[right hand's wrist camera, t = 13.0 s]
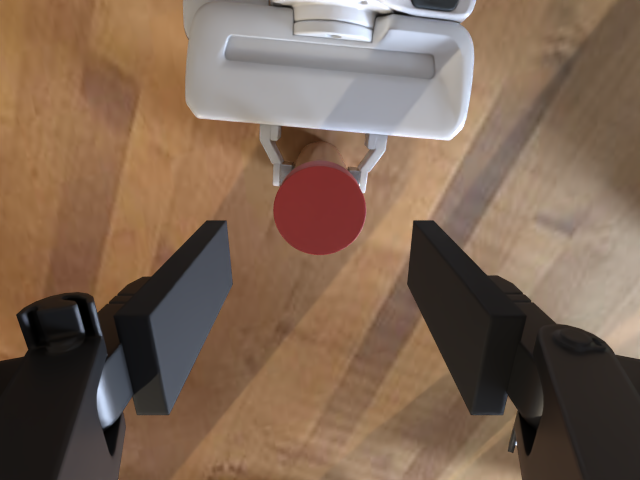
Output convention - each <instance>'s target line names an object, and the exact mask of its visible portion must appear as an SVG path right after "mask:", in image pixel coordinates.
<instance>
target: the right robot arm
mask: <svg viewBox="0 0 640 480" xmlns="http://www.w3.org/2000/svg"><path fill="white" fill-rule="evenodd" d="M232 285H233V282H232V272H231V261H230V251H229V241H228V231H227V221H206V222H205V223H204V224H203V225H202V226H201V227H200V228H199V229H198V230H197V231H196V232H195V233H194V234H193V235H192V236H191V237H190V238H189V239H188V240H187V241H186V242H185V243H184V244H183V245H182V246H181V247H180V248H179V249H178V250H177V251H176V252H175V253H174V254H173V255H172V256H171V257H170V258H169V259H168V260H167V261H166V262H165V263H164V264H163V266H162V267H161V268H160V269H159V270H158V271H157V272H156V273H155V274H154V275H153V276H152V277H141V278H140V279H138V280H136V281H134V282H132V283H130V284H128V285H127V286H126V287H125V288H124V289H122V290H121V291H120V292H119V293H118V295H117V296H115V297H114V298H113V299H112V300H111V301H110V302H109V304H106V305H105V306H104V307H103V308H102V309H101V310H100V311H99V312H98V313H97V310H96V306H95V302H94V298H93V297H92V296H91V295H89V294H87V293H80V292H74V293H64V294H59V295H54V296H50V297H47V298H44V299H42V300H39V301H36V302H34V303H32V304H30V305H28V306H27V307H25V308H23V309H22V310H21V311H20V312H19V313H18V314H16V316H17V319H18V322H19V324H20V327H21V330H22V333H23V336H24V339H25V341H26V344H27V347H28V351H27V353H26V354H25V356H24V357H20V358H14V359H9V360H4V361H0V480H118V476H119V469H120V462H121V456H122V449H123V443H124V436H125V429H126V425H125V418H124V415H123V410H124V408H125V407H126V405H127V404H128V402H129V401H130V399H131V398H132V397H133V401H134V405H135V409H136V413H137V415H169V414H170V412H171V410H172V408H173V406H174V404H175V402H176V400H177V398H178V396H179V394H180V391H181V389H182V387H183V385H184V383H185V381H186V379H187V377H188V375H189V373H190V371H191V369H192V367H193V365H194V363H195V361H196V359H197V357H198V354H199V352H200V350H201V348H202V346H203V344H204V342H205V340H206V338H207V336H208V334H209V332H210V330H211V328H212V326H213V324H214V322H215V320H216V318H217V315H218V313H219V311H220V309H221V307H222V305H223V303H224V301H225V299H226V297H227V295H228V293H229V291H230V289H231V287H232ZM407 285H408V287H409V289H410V291H411V293H412V295H413V297H414V299H415V301H416V303H417V305H418V307H419V309H420V311H421V313H422V315H423V318H424V320H425V322H426V324H427V326H428V328H429V330H430V332H431V334H432V336H433V338H434V340H435V342H436V344H437V346H438V348H439V350H440V352H441V354H442V357H443V359H444V361H445V363H446V365H447V367H448V369H449V371H450V373H451V375H452V377H453V379H454V381H455V383H456V385H457V387H458V389H459V391H460V394H461V396H462V398H463V400H464V402H465V404H466V406H467V408H468V410H469V412H470V414H471V415H503V413H504V409H505V405H506V401H507V397H508V396H509V397H510V399H511V400H512V402H513V403H514V405H515V406H516V408H517V410H518V411H517V415H516V418H515V422H514V426H513V430H512V434H511V438H510V442H509V447H508V452H512V453H513V452H514V448H515V445H516V444H517V448H518V455H519V461H520V468H521V475H522V480H640V359H635V358H630V357H624V356H619V355H615V354H614V352H613V350H612V349H611V348H610V347H609V346H608V345H607V344H606V342H605V341H603V340H602V339H600V338H598V337H597V336H595V335H594V334H591V333H589V332H587V331H584V330H582V329H580V328H576V327H572V326H568V325H560V324H556V323H555V322H554V321H553V320H552V319H551V318H549V317H548V316H547V315H546V314H545V313H544V312H543V311H542V310H541V309H540V308H539V307H538V306H536V305H535V304H534V303H531V300H530V299H529V298H528V297H527V296H526V295H523V293H522V292H521V291H520V290H519V289H518V288H517V287H516V286H515V285H514V284H513V283H511V282H509V281H507V280H505V279H503V278H501V277H499V276H487V275H486V274H485V273H484V272H483V271H482V270H481V269H480V268H479V267H478V266H477V264H476V263H475V262H474V261H473V260H472V259H471V258H470V257H469V256H468V255H467V254H466V253H465V252H464V251H463V250H462V249H461V248H460V247H459V246H458V245H457V244H456V243H455V242H454V241H453V240H452V239H451V238H450V237H449V236H448V235H447V234H446V233H445V232H444V231H443V230H442V229H441V228H440V227H439V226H438V225H437V224H436V223H435V222H434V221H413V231H412V241H411V251H410V261H409V272H408V282H407Z"/></svg>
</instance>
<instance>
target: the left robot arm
mask: <svg viewBox="0 0 640 480" xmlns="http://www.w3.org/2000/svg"><path fill="white" fill-rule="evenodd" d="M475 3H476V0H183V17H184V29H185V33H186V36H187V38H188V40H189V42H188V51H187V61H186V78H185V98H186V103H187V105H188V107H189V108H190V109H191V111H192V112H193V113H194V115H195V116H196V117H197V118H201V119H212V120H223V121H235V122H246V123H257V124H260V142H261V143H262V145H263V147H264V149H265V151H266V153H267V155H268V157H269V159H270V161H271V163H273V164H274V165H273V185H274V186H281V184H282V182H283V180H284V179H285V177H286V176H287V175H288V174H289V173H290V172H291V171H292V169H293V167H294V162H288V161H284V160H283V157H282V155H281V153H280V151H279V149H278V147H277V145H276V143H275V141H277V140H278V139H280V138H281V126H291V127H302V128H314V129H325V130H336V131H347V132H359V133H366V135H365V144H364V145H365V146H366V147H367V148H368V149H370V150H369V151H368V153H367V154H366V155H365V157H364V158H363V160H362V161H361V162H360V164H359V165H358V167H348V169H347V170H348V171H349V172H350V173H351V174H352V175H353V177H354V178H355V179H356V181H357V183H358V185H359V187H360V189H361V191H362V193H365V189H366V182H367V174H368V172H370V170H371V169H372V168H373V166H374V165H375V164H376V162H377V161H378V160H379V159H380V157H381V156H382V155H383V153H384V152H385V149H386V143H387V136H388V135H393V136H404V137H415V138H426V139H438V140H451V139H452V138H453V137H454V136H455V135H456V134H457V133H458V132H459V131H460V130H461V129H462V128H463V126H464V124H465V120H466V116H467V111H468V106H469V100H470V94H471V87H472V78H473V67H474V46H473V41H472V38H471V36H470V34H469V32H468V31H467V30H466V29H465V28H464V27H463V26H462V25H460V23H461V22H462V21H464V20H465V19H466V18H467V17H468V16H469V15H470V14H471V13H472V11H473V9H474V6H475Z"/></svg>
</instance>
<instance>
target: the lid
mask: <svg viewBox="0 0 640 480" xmlns="http://www.w3.org/2000/svg"><path fill="white" fill-rule="evenodd" d="M273 212H274V220H275V223H276V226H277V228H278V230H279V232H280V234H281V235H282V237H283V238H284V239H285V240H286V241H287V242H288V243H289V244H290V245H291V246H293V247H294V248H296V249H298V250H300V251H302V252H305V253H308V254H313V255H326V254H331V253H335V252H337V251H340V250H342V249H344V248H345V247H347V246H348V245H350V244H351V243H352V242H353V241H354V240H355V239H356V237H357V236H358V235H359V233H360V232H361V230H362V227H363V225H364V222H365V217H366V203H365V199H364V196H363V193H362V191H361V189H360V187H359V185H358V183H357V181H356V179H355V178H354V177H353V175H352V174H351V173H350V172H349V171H348V170H346V169H345V168H344V167H342V166H340V165H338V164H336V163H333V162H329V161H323V160H317V161H310V162H307V163H304V164H301V165H299V166H298V167H296V168H295V169H293V170H292V171H291V172H290V173H289V174H288V175H287V176H286V177H285V179H284V180H283V182H282V184H281V186H280V188H279V190H278V192H277V194H276V197H275V201H274V209H273Z"/></svg>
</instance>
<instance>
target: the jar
mask: <svg viewBox="0 0 640 480" xmlns="http://www.w3.org/2000/svg"><path fill="white" fill-rule="evenodd" d="M317 160H323V161H329V162H333V163H336V164H338V165H340V166H342V167H344V168H345V169H346V170H347V167H346V165H345V163H344V160H343V158H342V156H341V154H340V152H339V150H338V149H337V148H336V147H335V146H333V145H332V144H330V143H328V142H323V141H317V142H312V143H310V144H308V145H307V146H305V147H304V148H303V149H302V150H301V152H300V153H299V155H298V158H297V160H296V162H295V165H294V167H293V169H295V168H296V167H298V166H299V165H301V164H304V163H307V162H310V161H317ZM293 169H292V170H293Z"/></svg>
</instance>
